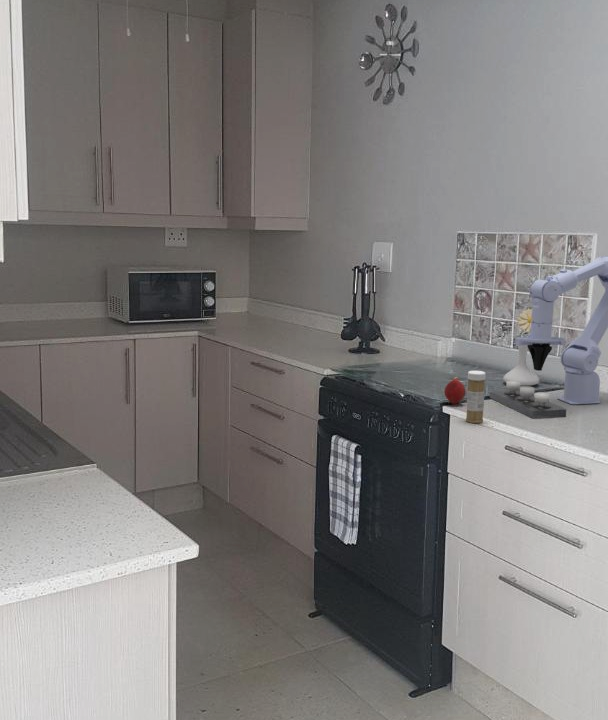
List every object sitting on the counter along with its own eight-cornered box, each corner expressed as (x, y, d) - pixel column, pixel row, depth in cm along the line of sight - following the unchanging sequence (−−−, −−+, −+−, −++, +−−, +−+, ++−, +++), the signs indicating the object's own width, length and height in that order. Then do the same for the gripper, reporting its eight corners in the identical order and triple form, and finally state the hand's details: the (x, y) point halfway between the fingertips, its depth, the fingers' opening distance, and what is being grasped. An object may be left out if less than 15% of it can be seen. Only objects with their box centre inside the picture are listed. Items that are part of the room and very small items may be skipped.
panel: (520, 396, 251) (520, 389, 250) (565, 416, 227) (566, 409, 226) (489, 397, 248) (490, 391, 248) (532, 418, 224) (533, 411, 224)
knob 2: (544, 403, 232) (544, 391, 231) (551, 407, 228) (552, 395, 227) (531, 404, 231) (531, 392, 230) (538, 407, 227) (539, 395, 226)
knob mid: (529, 397, 239) (530, 385, 239) (536, 400, 236) (537, 388, 235) (516, 398, 238) (517, 386, 238) (523, 401, 235) (524, 389, 234)
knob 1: (515, 391, 247) (516, 380, 246) (522, 394, 243) (523, 383, 243) (503, 392, 246) (504, 380, 245) (510, 395, 242) (510, 383, 242)
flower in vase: (495, 383, 269) (499, 306, 264) (519, 379, 275) (523, 304, 271) (526, 391, 258) (531, 310, 254) (551, 386, 264) (556, 308, 260)
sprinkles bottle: (477, 418, 223) (479, 369, 221) (486, 423, 219) (489, 372, 217) (462, 420, 222) (464, 370, 219) (471, 424, 218) (473, 373, 215)
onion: (458, 407, 235) (460, 380, 234) (440, 404, 239) (441, 377, 237) (468, 404, 240) (469, 376, 238) (450, 401, 243) (451, 374, 242)
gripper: (556, 320, 241) (552, 367, 243) (511, 320, 237) (507, 367, 239) (570, 324, 234) (566, 371, 236) (524, 324, 230) (520, 372, 233)
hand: (537, 370), depth 237 cm, fingers closed
